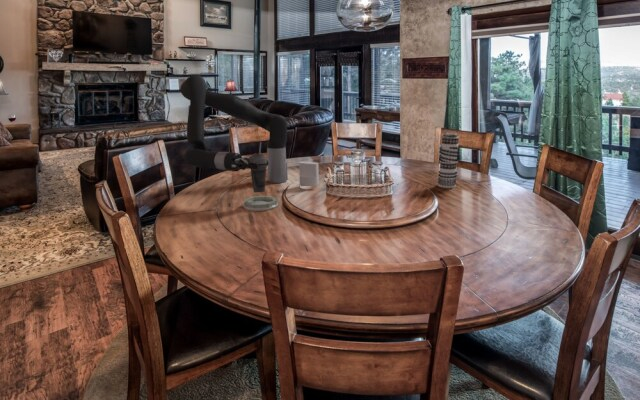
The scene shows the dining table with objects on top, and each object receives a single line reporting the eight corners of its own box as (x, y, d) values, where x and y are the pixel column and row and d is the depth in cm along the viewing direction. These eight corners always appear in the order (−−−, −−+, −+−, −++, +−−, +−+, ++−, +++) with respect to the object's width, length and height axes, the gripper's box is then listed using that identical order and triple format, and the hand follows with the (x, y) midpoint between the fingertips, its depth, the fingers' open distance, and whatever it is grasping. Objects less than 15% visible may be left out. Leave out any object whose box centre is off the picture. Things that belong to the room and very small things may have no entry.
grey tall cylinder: (458, 184, 213) (462, 132, 206) (455, 188, 205) (459, 135, 198) (439, 182, 217) (442, 131, 210) (435, 187, 209) (438, 134, 202)
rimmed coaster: (259, 199, 189) (258, 194, 189) (284, 204, 182) (284, 198, 181) (236, 207, 178) (235, 201, 178) (262, 213, 171) (262, 206, 170)
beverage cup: (250, 188, 182) (248, 140, 176) (268, 188, 182) (267, 140, 177) (249, 193, 175) (247, 143, 169) (267, 193, 175) (266, 143, 170)
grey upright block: (296, 188, 207) (296, 163, 204) (304, 184, 215) (304, 160, 212) (314, 190, 204) (313, 165, 200) (321, 186, 212) (321, 161, 208)
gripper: (217, 155, 174) (252, 158, 167) (237, 149, 186) (271, 152, 180) (218, 173, 176) (253, 177, 169) (238, 167, 188) (272, 170, 182)
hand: (262, 164), depth 175 cm, fingers closed on beverage cup, 7 cm apart
